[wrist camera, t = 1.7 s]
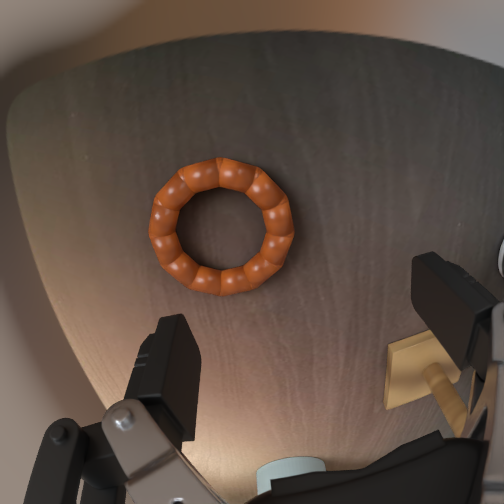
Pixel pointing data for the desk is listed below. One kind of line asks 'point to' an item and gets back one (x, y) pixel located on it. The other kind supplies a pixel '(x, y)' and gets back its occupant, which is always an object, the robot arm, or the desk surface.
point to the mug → (286, 470)
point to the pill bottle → (501, 260)
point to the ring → (233, 178)
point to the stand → (424, 377)
